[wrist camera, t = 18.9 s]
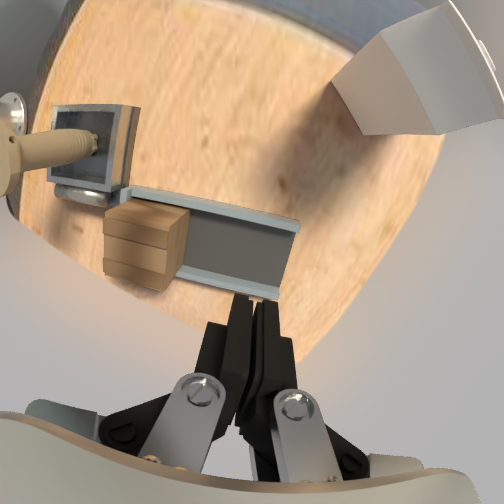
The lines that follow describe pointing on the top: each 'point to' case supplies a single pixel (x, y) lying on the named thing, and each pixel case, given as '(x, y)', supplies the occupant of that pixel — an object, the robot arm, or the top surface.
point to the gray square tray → (96, 153)
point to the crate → (145, 242)
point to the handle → (40, 152)
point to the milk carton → (421, 78)
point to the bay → (229, 243)
